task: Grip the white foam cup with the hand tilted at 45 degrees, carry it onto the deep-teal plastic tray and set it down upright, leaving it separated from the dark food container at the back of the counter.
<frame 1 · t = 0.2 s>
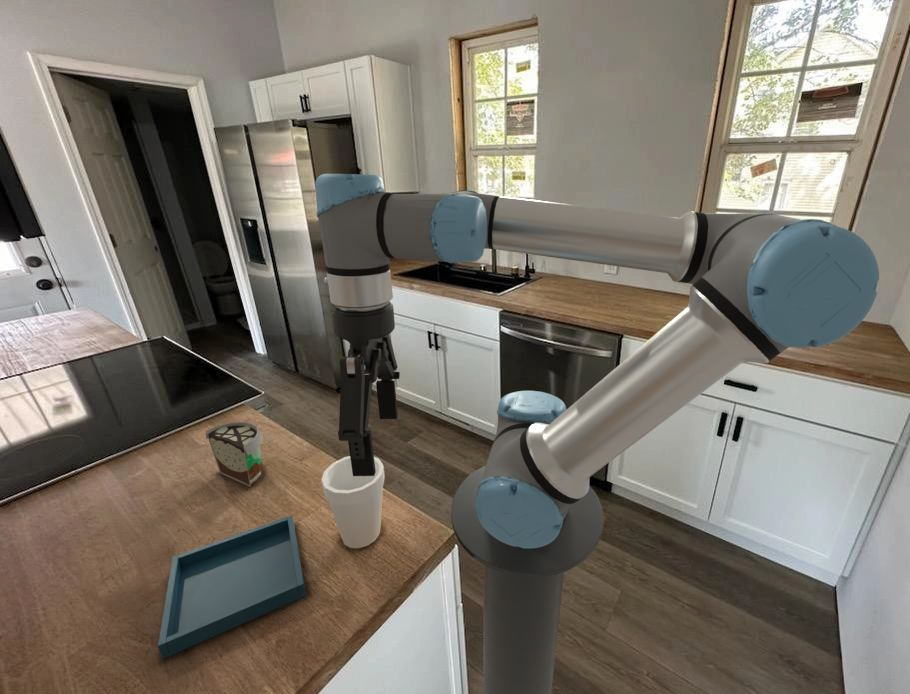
hand: (378, 443, 60), 22 cm above the worktop, tool pointing down, fingers open, 13 cm apart
food container: (249, 471, 85), on the worktop
tray: (239, 581, 62), on the worktop
foam cup: (361, 534, 71), on the worktop
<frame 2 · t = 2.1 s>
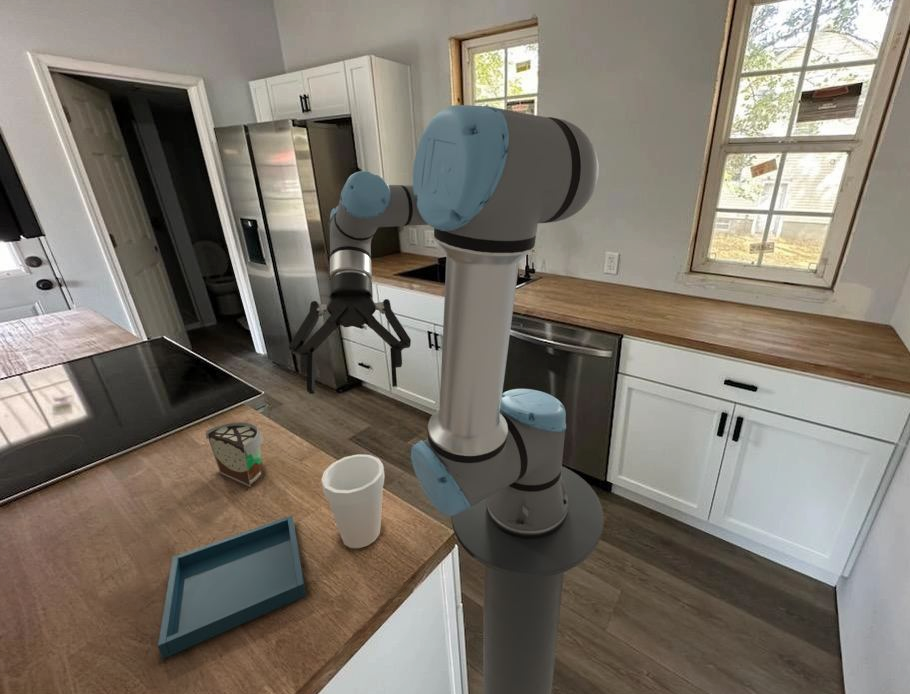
hand: (353, 388, 71), 24 cm above the worktop, tool tilted 40°, fingers open, 13 cm apart
nothing on the worktop moved.
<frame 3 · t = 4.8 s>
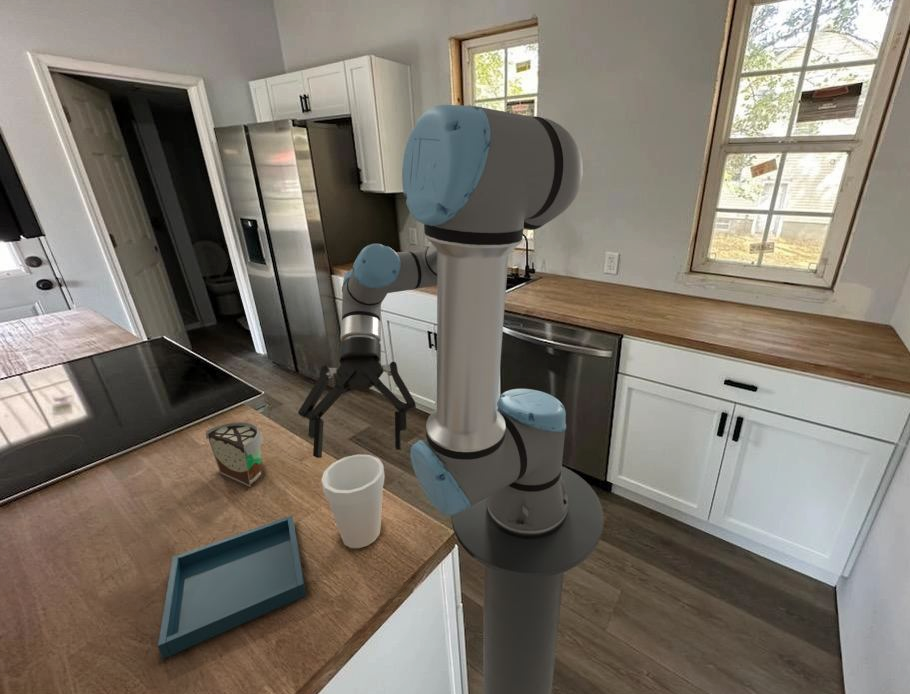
hand: (358, 452, 73), 12 cm above the worktop, tool tilted 45°, fingers open, 13 cm apart
nothing on the worktop moved.
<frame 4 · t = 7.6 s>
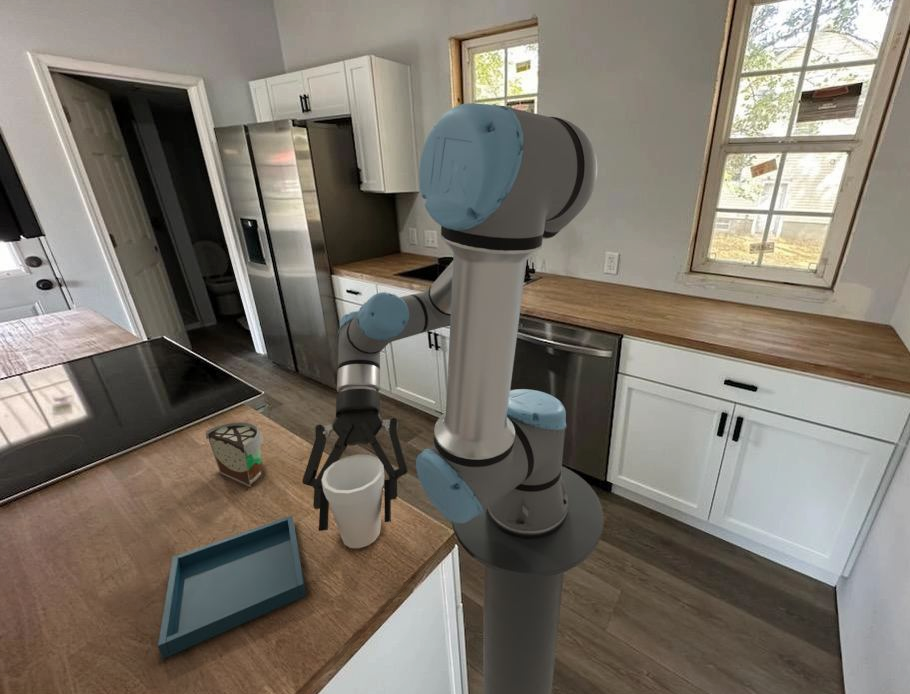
hand: (356, 526, 67), 5 cm above the worktop, tool tilted 45°, fingers closed on foam cup, 9 cm apart
foam cup: (361, 534, 71), on the worktop, touching gripper
everything else where it was.
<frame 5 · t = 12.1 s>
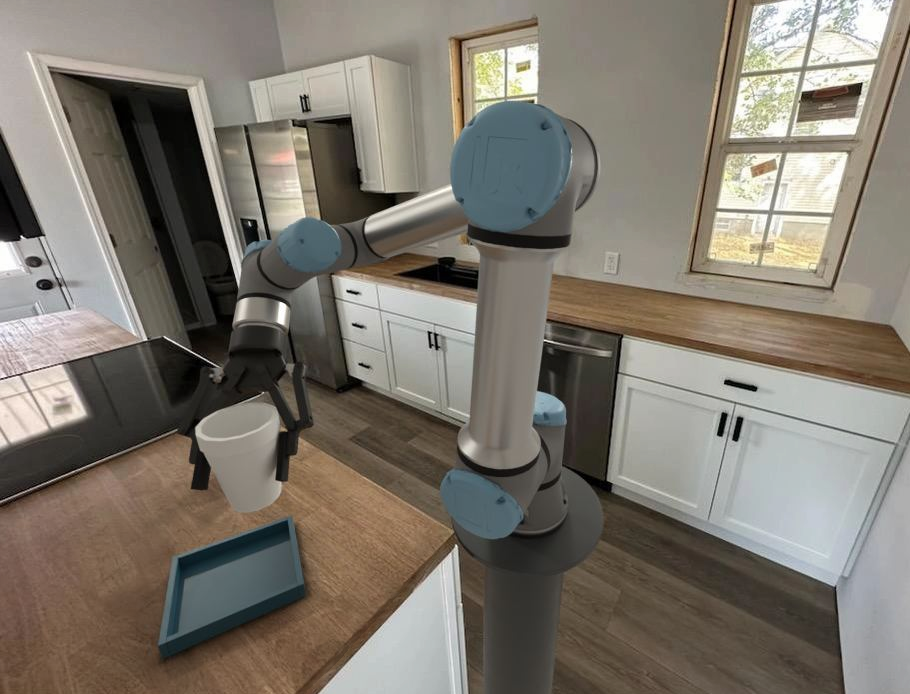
hand: (241, 485, 55), 19 cm above the worktop, tool tilted 45°, fingers closed on foam cup, 9 cm apart
foam cup: (257, 497, 60), point 14 cm above the worktop, touching gripper
everything else where it was.
when the fingers open (5 cm above the worktop, at t = 16.8 s): foam cup stays where it is, resting on tray.
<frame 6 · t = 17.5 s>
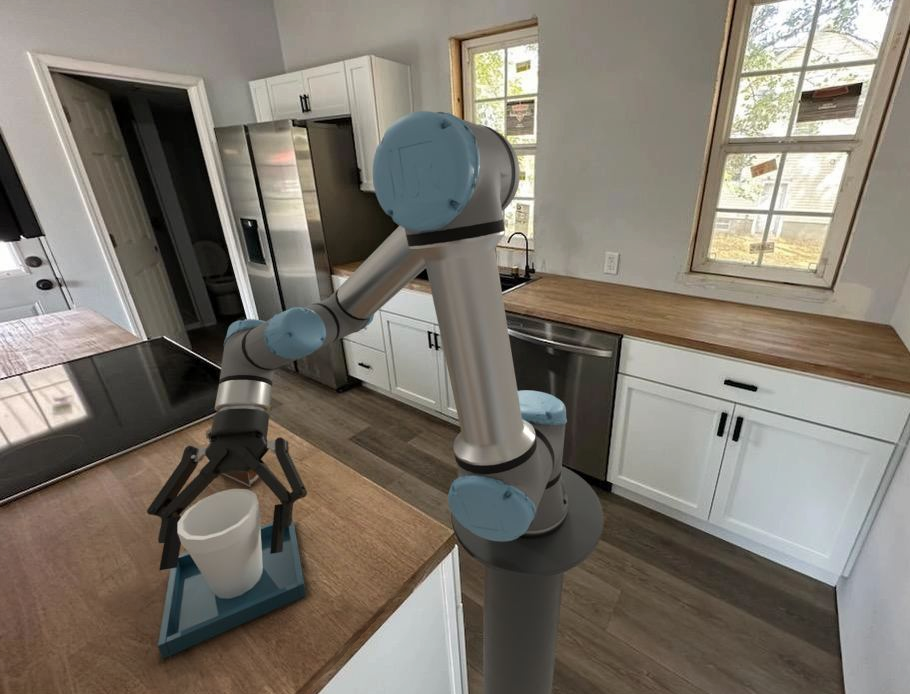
hand: (223, 561, 58), 7 cm above the worktop, tool tilted 45°, fingers open, 13 cm apart
foam cup: (239, 579, 62), resting on tray
everything else where it was.
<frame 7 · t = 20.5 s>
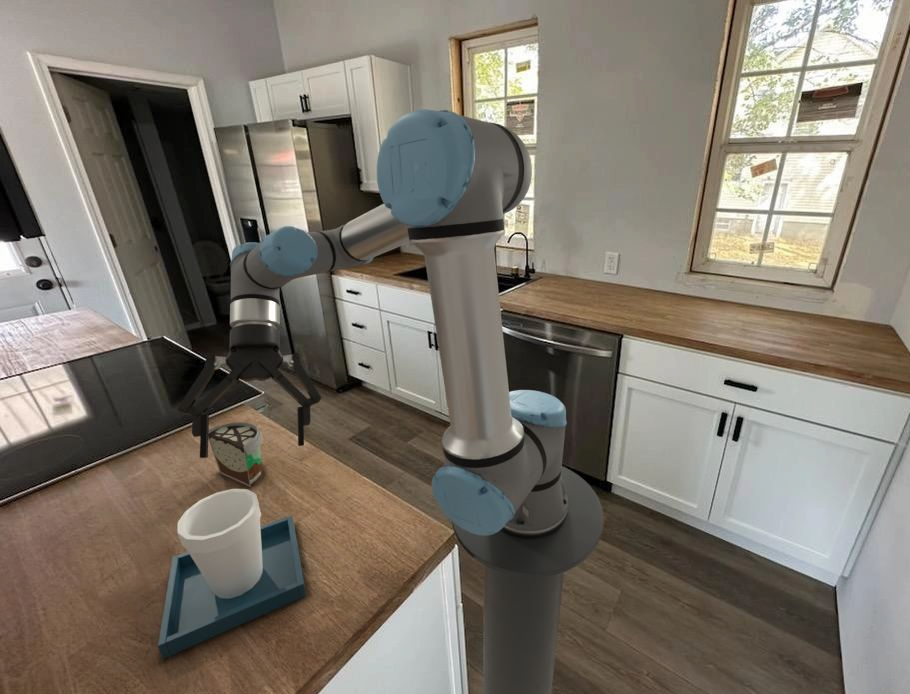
hand: (254, 451, 68), 15 cm above the worktop, tool tilted 35°, fingers open, 13 cm apart
nothing on the worktop moved.
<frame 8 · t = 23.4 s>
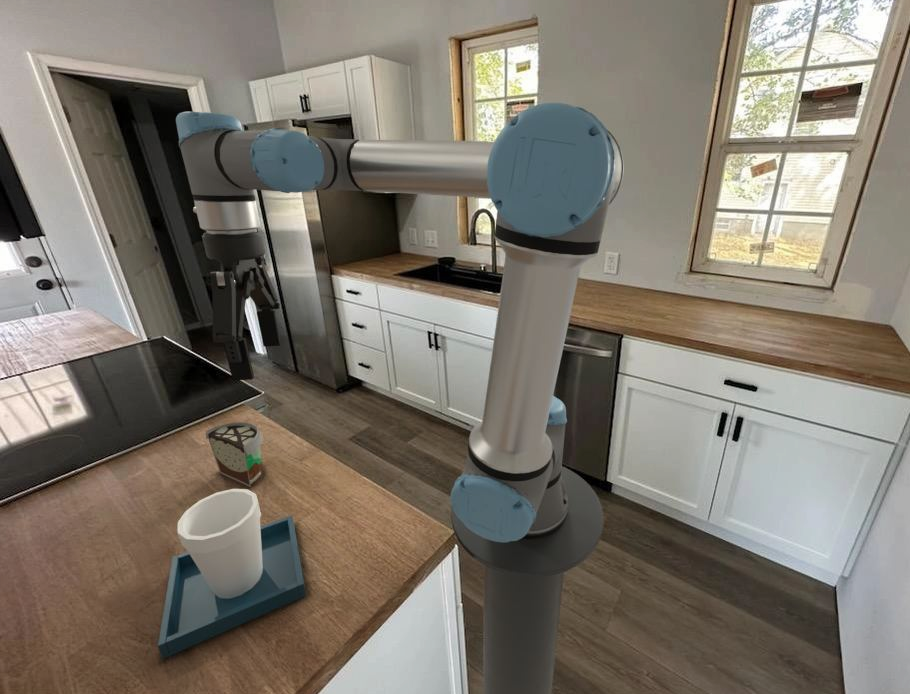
hand: (259, 360, 69), 29 cm above the worktop, tool pointing down, fingers open, 13 cm apart
nothing on the worktop moved.
at the end: foam cup inside the target area in the tray (0.1 cm from its centre), point 0.3 cm above the tray's base; foam cup tilted 0°; food container moved 0.2 cm from its start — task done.
